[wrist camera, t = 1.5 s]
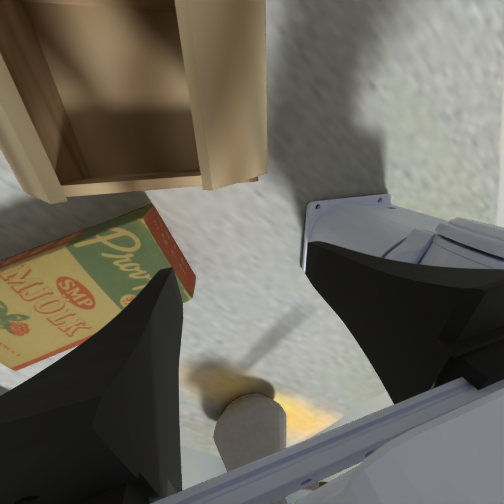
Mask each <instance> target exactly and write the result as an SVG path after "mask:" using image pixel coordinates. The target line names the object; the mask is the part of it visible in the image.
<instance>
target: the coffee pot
mask: <svg viewBox="0 0 504 504" xmlns="http://www.w3.org/2000/svg"><path fill="white" fill-rule="evenodd" d="M214 441H215V444H216V446H217V448H218V451H219V453H220V456H221V458H222V460H223V463H224V465H225V467H226V469H227V472H229V471H232V470H234V469H237V468H239V467H242V466H244V465H247V464H249V463H252V462H254V461H256V460H259V459H261V458H264V457H266V456H269V455H271V454H274V453H276V452H279V451H281V450H284V449H286V413H285V411H284V410H283V408H282V407H281V406H280V404H279V403H277V402H275V401H274V400H272V399H271V398H268V397H267V396H265V395H263V394H248V395H245V396H242V397H239V398H237V399H235V400H234V401H232V402H231V403H230V404H229V405H228V406H227V407H226V409H225V411H224V412H223V413H222V415H221V417H220V418H219V420H218V421H217V423H216V427H215V431H214ZM326 483H328V482H316V483H314V484H312V485H310V486H308V487H305V488H303V489H301V490H305V491H314V490H316V489H317V488H319V487H321V486H323V485H324V484H326ZM271 504H287V502H286V499H285V497H284V498H281V499H279V500H277V501H275V502H273V503H271Z"/></svg>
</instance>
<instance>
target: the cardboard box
mask: <svg viewBox="0 0 504 504" xmlns="http://www.w3.org/2000/svg"><path fill="white" fill-rule="evenodd" d="M0 53H1V55H2V57H3V60H4V62H5V64H6V66H7V68H8V71H9V73H10V75H11V77H12V79H13V82H14V84H15V86H16V88H17V90H18V93H19V95H20V97H21V99H22V101H23V103H24V106H25V108H26V110H27V112H28V114H29V117H30V119H31V121H32V123H33V125H34V128H35V130H36V132H37V134H38V136H39V139H40V141H41V143H42V145H43V147H44V150H45V152H46V154H47V156H48V158H49V161H50V163H51V165H52V167H53V169H54V172H55V174H56V176H57V178H58V180H59V183H60V185H61V187H62V189H63V191H64V193H65V196H66V197H72V196H85V195H97V194H109V193H121V192H133V191H145V190H158V189H170V188H182V187H194V186H202V179H201V173H200V166H199V159H198V153H197V146H196V139H195V133H194V126H193V119H192V113H191V106H190V100H189V93H188V86H187V80H186V73H185V66H184V60H183V53H182V47H181V40H180V33H179V27H178V20H177V13H176V7H175V0H0ZM255 181H258V176H257V177H254V178H251V179H247V180H244V181H241V182H238V183H243V182H255Z"/></svg>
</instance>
